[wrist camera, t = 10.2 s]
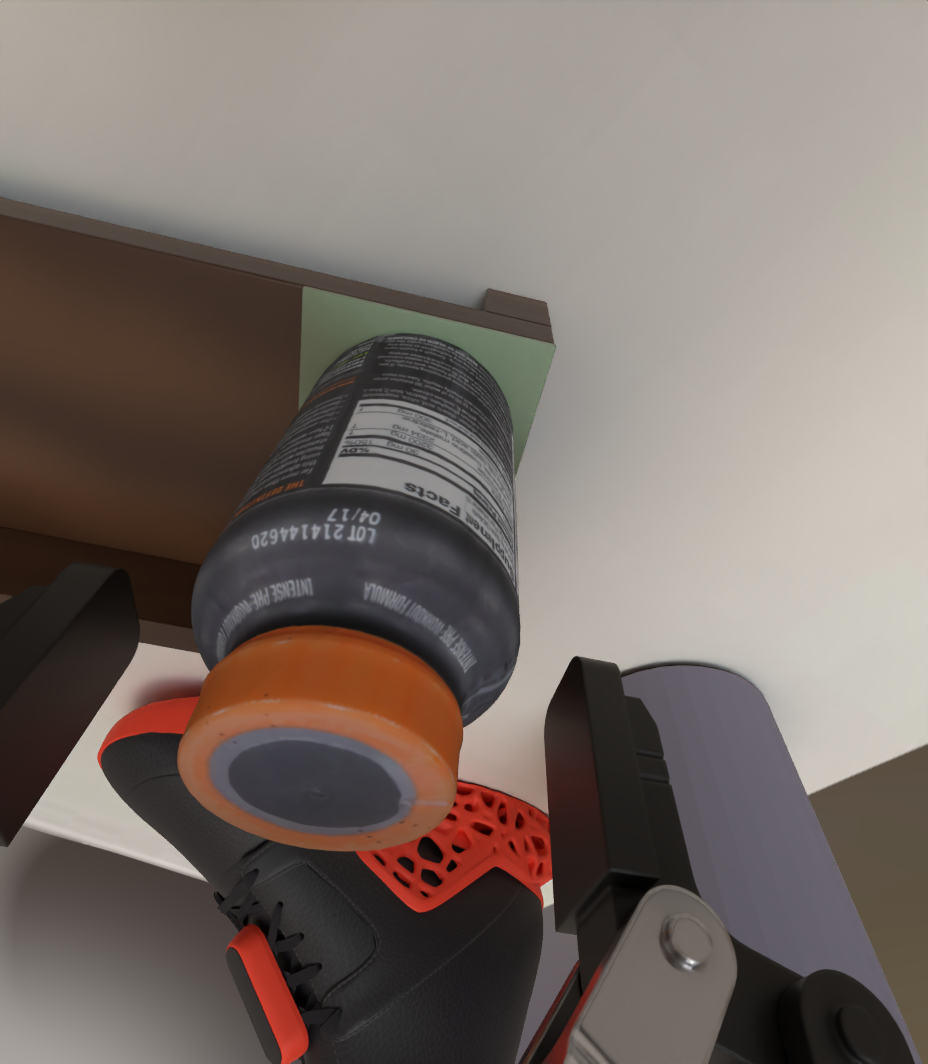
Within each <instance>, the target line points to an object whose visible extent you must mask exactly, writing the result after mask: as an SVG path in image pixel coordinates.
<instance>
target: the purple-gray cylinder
mask: <svg viewBox="0 0 928 1064" xmlns="http://www.w3.org/2000/svg"><path fill="white" fill-rule="evenodd" d="M621 680H622V685H623V690H624V695H625V696H631V697H636V698H640V699H641V700H642V702H643V703H644V705H645V707H646V708H647V710H648V711H649V713H650V715H651V716H652V718H653V719H654V721H655V723H656V724H657V726H658V731H659V735H660V739H661V743H662V747H663V751H664V757H663V758H664V760H666V764H667V768H668V772H669V776H670V780H669V784H670V785H672V789H673V793H674V797H675V801H676V806H677V810H678V814H679V818H680V822H681V827H682V831H683V835H684V839H685V843H686V847H687V852H688V856H689V860H690V864H691V868H692V872H693V876H694V880H695V883H696V886H697V888H698V891H699V893H700V896H701V897H702V899H703V900H704V901H705V902H706V903H707V904H708V905H709V906H710V907H711V908H712V909H713V910H714V912H715V913H716V914H717V915H718V917H719V918H720V920H721V921H722V923H723V924H724V926H725V928H726V930H727V932H728V933H729V934H731V935H732V936H733V937H734V938H736V939H737V940H738V941H739V942H741V943H743V944H744V945H746V946H748V947H749V948H751V949H753V950H755V951H757V952H758V953H760V954H762V955H764V956H766V957H768V958H770V959H771V960H773V961H775V962H777V963H779V964H781V965H783V966H784V967H786V968H788V969H790V970H792V971H794V972H796V973H797V974H799V975H801V976H803V977H806V976H808V975H809V974H811V973H813V972H816V971H818V970H822V969H831V970H836V971H840V972H843V973H845V974H847V975H849V976H851V977H853V978H854V979H856V980H857V981H859V982H860V983H862V984H863V985H864V986H865V987H866V988H868V989H869V990H870V991H871V992H872V993H873V994H874V995H875V996H876V997H877V998H878V999H879V1000H880V1001H881V1002H882V1004H883V1005H884V1006H885V1007H886V1009H887V1010H888V1011H889V1012H890V1014H891V1015H892V1017H893V1018H894V1020H895V1021H896V1023H897V1025H898V1026H899V1028H900V1030H901V1032H902V1033H903V1035H904V1038H905V1040H906V1042H907V1044H908V1047H909V1049H910V1052H911V1054H912V1057H913V1059H914V1062H915V1064H922V1061H921V1059H920V1057H919V1054H918V1052H917V1050H916V1047H915V1045H914V1043H913V1040H912V1038H911V1036H910V1033H909V1031H908V1029H907V1026H906V1024H905V1022H904V1019H903V1017H902V1015H901V1013H900V1010H899V1008H898V1005H897V1003H896V1001H895V998H894V996H893V994H892V992H891V989H890V987H889V985H888V982H887V980H886V978H885V975H884V973H883V971H882V968H881V966H880V964H879V961H878V959H877V957H876V954H875V952H874V950H873V947H872V945H871V943H870V940H869V938H868V936H867V933H866V931H865V929H864V926H863V924H862V922H861V919H860V917H859V915H858V912H857V910H856V908H855V905H854V903H853V901H852V898H851V896H850V894H849V891H848V889H847V887H846V884H845V882H844V880H843V877H842V875H841V873H840V870H839V868H838V866H837V864H836V861H835V859H834V856H833V854H832V852H831V850H830V847H829V845H828V842H827V840H826V838H825V836H824V833H823V831H822V828H821V826H820V824H819V822H818V819H817V817H816V815H815V812H814V810H813V808H812V805H811V803H810V801H809V798H808V796H807V794H806V791H805V789H804V787H803V784H802V782H801V780H800V777H799V775H798V773H797V770H796V768H795V766H794V763H793V761H792V759H791V756H790V754H789V752H788V749H787V747H786V745H785V742H784V740H783V738H782V735H781V733H780V731H779V728H778V726H777V724H776V721H775V719H774V717H773V714H772V712H771V710H770V707H769V705H768V703H767V701H766V699H765V698H764V696H763V694H762V693H761V692H760V691H759V690H758V689H757V688H756V687H755V686H754V685H753V684H751V683H750V682H748V681H746V680H745V679H743V678H741V677H740V676H738V675H735V674H732V673H729V672H726V671H723V670H719V669H713V668H708V667H702V666H682V665H680V666H667V667H658V668H653V669H648V670H643V671H639V672H636V673H633V674H630V675H627V676H624V677H621Z"/></svg>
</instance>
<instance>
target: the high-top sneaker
mask: <svg viewBox="0 0 928 1064" xmlns="http://www.w3.org/2000/svg"><path fill="white" fill-rule="evenodd" d="M198 699H199V696H198V697H186V698H176V699H169V700H164V701H158V702H153V703H150V704H147V705H145V706H142V707H140V708H138V709H136V710H134V711H132V712H130V713H128V714H127V715H126V716H124V717H123V718H122V719H120V720H119V721H118V722H117V723H116V724H115V725H114V726H113V727H112V729H111V730H110V732H109V733H108V734H107V736H106V738H105V740H104V742H103V744H102V746H101V748H100V750H99V752H98V757H97V758H98V762H99V765H100V767H101V769H102V770H103V772H104V775H105V776H106V778H107V780H108V781H109V783H110V784H111V786H112V787H113V788H114V790H115V791H116V792H117V793H118V795H119V796H120V797H121V798H122V799H123V800H124V802H125V803H126V804H127V805H128V806H129V807H130V808H131V809H133V811H134V812H135V813H136V814H137V815H138V816H140V817H141V818H142V819H143V820H144V821H145V822H146V823H148V824H149V825H150V826H151V827H152V828H154V829H155V830H156V831H157V832H158V833H159V834H161V835H162V836H163V837H164V838H165V839H166V840H167V841H169V842H170V843H171V844H172V845H173V846H174V847H175V848H176V849H177V850H178V851H179V852H180V853H181V854H182V855H183V856H184V857H185V858H186V859H187V860H188V861H189V862H190V863H191V864H192V865H193V866H194V867H195V868H196V869H197V870H198V871H199V872H200V873H201V874H202V875H203V876H204V877H205V878H206V880H207V881H208V882H209V883H210V884H211V885H212V886H213V887H215V888H216V890H217V891H216V892H215V893H214V897H215V900H216V901H217V903H218V904H219V906H218V909H219V910H220V911H221V912H222V913H223V914H224V915H225V914H226V915H227V916H228V917H229V919H230V920H231V921H232V923H233V924H234V925H235V927H236V928H237V930H238V931H239V933H238V934H237V935H236V936H235V937H234V938H233V939H232V941H231V942H230V943H229V945H228V947H227V951H226V959H227V963H228V967H229V969H230V971H231V974H232V976H233V979H234V981H235V984H236V986H237V988H238V990H239V993H240V995H241V998H242V1000H243V1002H244V1005H245V1007H246V1009H247V1012H248V1014H249V1017H250V1019H251V1022H252V1024H253V1026H254V1029H255V1031H256V1033H257V1035H258V1038H259V1041H260V1043H261V1045H262V1048H263V1050H264V1052H265V1055H266V1057H267V1058H268V1059H269V1061H270V1062H271V1063H272V1064H289V1063H291V1062H293V1061H294V1060H296V1059H297V1058H298V1059H299V1060H300V1059H301V1061H302V1064H514V1063H515V1059H516V1055H517V1051H518V1048H519V1043H520V1039H521V1035H522V1031H523V1027H524V1022H525V1019H526V1014H527V1009H528V1006H529V1002H530V999H531V995H532V991H533V987H534V983H535V979H536V975H537V970H538V965H539V961H540V955H541V948H542V940H543V916H542V909H543V896H542V892H541V889H540V887H541V886H542V885H544V884H545V883H547V882H548V881H550V880H551V879H552V861H551V844H550V827H549V819H548V818H547V817H546V816H545V815H544V814H543V813H542V812H540V811H539V810H538V809H536V808H535V807H533V806H531V805H529V804H527V803H525V802H523V801H520V800H518V799H515V798H512V797H510V796H508V795H505V794H502V793H500V792H495V791H492V790H490V789H487V788H484V787H481V786H477V785H473V784H466V783H462V782H459V781H457V793H456V798H455V801H454V804H453V807H452V809H451V811H450V813H449V814H448V815H447V816H446V818H445V819H444V820H443V821H442V822H441V823H440V825H439V826H437V827H436V828H434V829H433V830H431V831H430V832H429V833H427V834H425V835H423V836H421V837H419V838H418V839H416V840H413V841H410V842H407V843H404V844H400V845H397V846H393V847H389V848H384V849H380V850H370V851H327V850H317V849H307V848H302V847H297V846H292V845H287V844H282V843H279V842H275V841H272V840H268V839H266V838H263V837H260V836H257V835H254V834H251V833H249V832H246V831H244V830H242V829H240V828H238V827H236V826H234V825H232V824H230V823H228V822H226V821H224V820H223V819H221V818H219V817H218V816H216V815H215V814H213V813H212V812H210V811H209V810H207V809H206V808H205V807H204V806H202V805H201V804H200V802H199V801H198V800H197V799H196V798H195V797H194V796H193V795H192V794H191V793H190V792H189V790H188V789H187V787H186V786H185V784H184V783H183V780H182V778H181V776H180V773H179V770H178V764H177V755H178V748H179V743H180V741H181V738H182V736H183V733H184V731H185V728H186V726H187V723H188V721H189V719H190V717H191V715H192V713H193V711H194V709H195V707H196V705H197V702H198Z"/></svg>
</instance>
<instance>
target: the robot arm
mask: <svg viewBox="0 0 928 1064" xmlns="http://www.w3.org/2000/svg"><path fill="white" fill-rule="evenodd" d="M139 638H140V624H139V619H138V614H137V609H136V604H135V600H134V595H133V590H132V585H131V580H130V576H129V574H128V572H127V571H126V570H125V569H121V568H116V567H111V566H106V565H100V564H95V563H90V562H84V561H74V562H72V563H71V564H69V565H68V566H67V567H66V568H65V569H64V570H63V571H62V572H61V573H60V574H59V575H58V576H57V577H56V578H55V579H54V580H53V581H52V583H51V584H50V585H49V586H48V587H45V586H39V585H33V586H31V587H29V588H27V589H25V590H24V591H22V592H20V593H18V594H17V595H15V596H13V597H11V598H9V599H8V600H6V601H4V602H2V603H1V604H0V846H4V847H8V846H9V844H10V843H11V841H12V840H13V838H14V837H15V835H16V834H17V832H18V831H19V829H20V828H21V826H22V825H23V823H24V822H25V820H26V819H27V817H28V816H29V814H30V813H31V811H32V810H33V808H34V807H35V805H36V804H37V802H38V801H39V799H40V798H41V796H42V795H43V793H44V792H45V790H46V789H47V787H48V786H49V784H50V783H51V781H52V780H53V778H54V777H55V775H56V774H57V772H58V771H59V769H60V768H61V766H62V765H63V763H64V762H65V760H66V759H67V757H68V756H69V754H70V753H71V751H72V750H73V748H74V747H75V745H76V744H77V742H78V741H79V739H80V738H81V736H82V735H83V733H84V732H85V730H86V729H87V727H88V726H89V724H90V723H91V721H92V720H93V718H94V717H95V715H96V714H97V712H98V711H99V709H100V708H101V706H102V705H103V703H104V701H105V700H106V698H107V697H108V695H109V694H110V692H111V691H112V689H113V688H114V686H115V685H116V683H117V682H118V680H119V679H120V677H121V676H122V674H123V673H124V671H125V670H126V668H127V667H128V665H129V664H130V662H131V661H132V659H133V657H134V655H135V652H136V650H137V647H138V643H139ZM544 742H545V759H546V776H547V793H548V810H549V827H550V844H551V861H552V878H553V895H554V911H555V929H556V932H561V933H568V934H574V935H577V940H578V951H579V960H578V961H577V963H576V964H575V966H574V967H573V969H572V971H571V973H570V974H569V976H568V978H567V980H566V981H565V983H564V985H563V986H562V988H561V990H560V992H559V994H558V995H557V997H556V999H555V1001H554V1002H553V1004H552V1006H551V1007H550V1009H549V1011H548V1013H547V1014H546V1016H545V1018H544V1020H543V1021H542V1023H541V1025H540V1027H539V1029H538V1030H537V1032H536V1034H535V1035H534V1037H533V1039H532V1041H531V1042H530V1044H529V1046H528V1048H527V1049H526V1051H525V1053H524V1054H523V1056H522V1058H521V1060H520V1062H519V1063H518V1064H915V1062H914V1059H913V1057H912V1054H911V1052H910V1049H909V1047H908V1044H907V1042H906V1040H905V1038H904V1035H903V1033H902V1032H901V1030H900V1028H899V1026H898V1025H897V1023H896V1021H895V1020H894V1018H893V1017H892V1015H891V1014H890V1012H889V1011H888V1010H887V1009H886V1007H885V1006H884V1005H883V1004H882V1002H881V1001H880V1000H879V999H878V998H877V997H876V996H875V995H874V994H873V993H872V992H871V991H870V990H869V989H868V988H866V987H865V986H864V985H863V984H862V983H860V982H859V981H857V980H856V979H854V978H853V977H851V976H849V975H847V974H845V973H843V972H840V971H836V970H831V969H822V970H818V971H816V972H813V973H811V974H809V975H808V976H806V977H803V976H801V975H799V974H797V973H796V972H794V971H792V970H790V969H788V968H786V967H784V966H783V965H781V964H779V963H777V962H775V961H773V960H771V959H770V958H768V957H766V956H764V955H762V954H760V953H758V952H757V951H755V950H753V949H751V948H749V947H748V946H746V945H744V944H743V943H741V942H739V941H738V940H737V939H736V938H734V937H733V936H732V935H731V934H729V933H728V932H727V930H726V928H725V926H724V924H723V923H722V921H721V920H720V918H719V917H718V915H717V914H716V913H715V912H714V910H713V909H712V908H711V907H710V906H709V905H708V904H707V903H706V902H705V901H704V900H703V899H702V897H701V896H700V893H699V891H698V888H697V886H696V883H695V880H694V876H693V872H692V868H691V864H690V860H689V856H688V852H687V847H686V843H685V839H684V835H683V831H682V827H681V822H680V818H679V814H678V810H677V806H676V801H675V797H674V793H673V789H672V785H670V784H669V780H670V776H669V772H668V768H667V764H666V760H664V758H663V757H664V751H663V747H662V743H661V739H660V735H659V731H658V726H657V724H656V723H655V721H654V719H653V718H652V716H651V715H650V713H649V711H648V710H647V708H646V707H645V705H644V703H643V702H642V700H641V699H640V698H636V697H631V696H625V695H624V690H623V685H622V680H621V675H620V671H619V668H618V666H617V665H616V664H615V663H610V662H605V661H600V660H594V659H589V658H584V657H578V656H575V657H574V658H573V659H572V660H571V662H570V664H569V666H568V668H567V670H566V672H565V674H564V676H563V678H562V680H561V682H560V684H559V685H558V687H557V689H556V691H555V693H554V695H553V697H552V699H551V701H550V704H549V706H548V710H547V714H546V719H545V728H544Z"/></svg>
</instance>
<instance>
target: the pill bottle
mask: <svg viewBox="0 0 928 1064" xmlns="http://www.w3.org/2000/svg"><path fill="white" fill-rule="evenodd" d="M513 449H514V448H513V424H512V419H511V413H510V409H509V406H508V403H507V400H506V398H505V396H504V394H503V392H502V390H501V388H500V387H499V385H498V383H497V381H496V380H495V379H494V377H493V376H492V375H491V374H490V372H489V371H488V370H487V369H486V368H485V367H484V366H482V365H481V364H480V363H479V362H478V361H477V360H476V359H475V358H474V357H472V356H471V355H470V354H468V353H467V352H466V351H464V350H463V349H461V348H459V347H457V346H455V345H453V344H451V343H449V342H446V341H444V340H441V339H438V338H434V337H430V336H426V335H422V334H411V333H397V334H388V335H381V336H376V337H373V338H371V339H368V340H366V341H364V342H361V343H359V344H357V345H355V346H353V347H351V348H349V349H347V350H346V351H345V352H344V353H342V354H341V355H340V356H339V357H338V358H337V359H336V360H335V361H334V362H333V363H332V364H331V365H330V366H329V367H328V368H327V369H326V370H325V371H324V373H323V374H322V376H321V377H320V379H319V380H318V381H317V382H316V383H315V385H314V387H313V388H312V390H311V392H310V394H309V396H308V397H307V398H306V400H305V402H304V403H303V405H302V407H301V408H300V410H299V412H298V413H297V415H296V416H295V418H294V419H293V421H292V422H291V423H290V425H289V427H288V429H287V430H286V432H285V433H284V435H283V437H282V438H281V440H280V441H279V443H278V444H277V446H276V448H275V449H274V451H273V452H272V454H271V455H270V457H269V459H268V460H267V462H266V463H265V465H264V466H263V468H262V470H261V472H260V473H259V475H258V476H257V478H256V479H255V481H254V483H253V484H252V486H251V487H250V489H249V490H248V492H247V494H246V495H245V497H244V498H243V500H242V501H241V503H240V504H239V506H238V508H237V509H236V511H235V512H234V514H233V516H232V517H231V519H230V520H229V521H228V523H227V525H226V526H225V528H224V530H223V531H222V533H221V535H220V536H219V538H218V539H217V541H216V542H215V544H214V545H213V547H212V548H211V550H210V551H209V553H208V555H207V556H206V558H205V560H204V562H203V564H202V566H201V568H200V570H199V572H198V575H197V577H196V582H195V584H194V588H193V594H192V603H191V619H192V628H193V634H194V638H195V642H196V645H197V647H198V650H199V652H200V655H201V657H202V659H203V661H204V663H205V665H206V666H207V668H208V670H209V671H210V673H209V674H208V675H207V677H206V679H205V681H204V683H203V685H202V688H201V691H200V695H199V699H198V702H197V705H196V707H195V709H194V711H193V713H192V715H191V717H190V719H189V721H188V723H187V726H186V728H185V731H184V733H183V736H182V738H181V741H180V743H179V748H178V755H177V764H178V770H179V773H180V776H181V778H182V780H183V783H184V784H185V786H186V787H187V789H188V790H189V792H190V793H191V794H192V795H193V796H194V797H195V798H196V799H197V800H198V801H199V802H200V804H201V805H202V806H204V807H205V808H206V809H207V810H209V811H210V812H212V813H213V814H215V815H216V816H218V817H219V818H221V819H223V820H224V821H226V822H228V823H230V824H232V825H234V826H236V827H238V828H240V829H242V830H244V831H246V832H249V833H251V834H254V835H257V836H260V837H263V838H266V839H268V840H272V841H275V842H279V843H282V844H287V845H292V846H297V847H302V848H307V849H317V850H327V851H370V850H380V849H384V848H389V847H393V846H397V845H400V844H404V843H407V842H410V841H413V840H416V839H418V838H419V837H421V836H423V835H425V834H427V833H429V832H430V831H431V830H433V829H434V828H436V827H437V826H439V825H440V823H441V822H442V821H443V820H444V819H445V818H446V816H447V815H448V814H449V813H450V811H451V809H452V807H453V804H454V801H455V798H456V793H457V779H458V764H459V753H460V749H461V746H462V742H463V728H464V727H466V726H467V725H469V724H470V723H472V722H473V721H475V720H476V719H477V718H478V717H480V716H481V715H482V714H483V713H484V712H485V711H486V710H488V709H489V708H490V707H491V706H492V705H493V704H494V702H495V701H496V700H497V699H498V697H499V696H500V695H501V693H502V692H503V690H504V689H505V687H506V685H507V683H508V681H509V679H510V677H511V675H512V673H513V670H514V667H515V664H516V661H517V656H518V651H519V646H520V615H519V589H518V548H517V521H516V497H515V474H514V450H513Z"/></svg>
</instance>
